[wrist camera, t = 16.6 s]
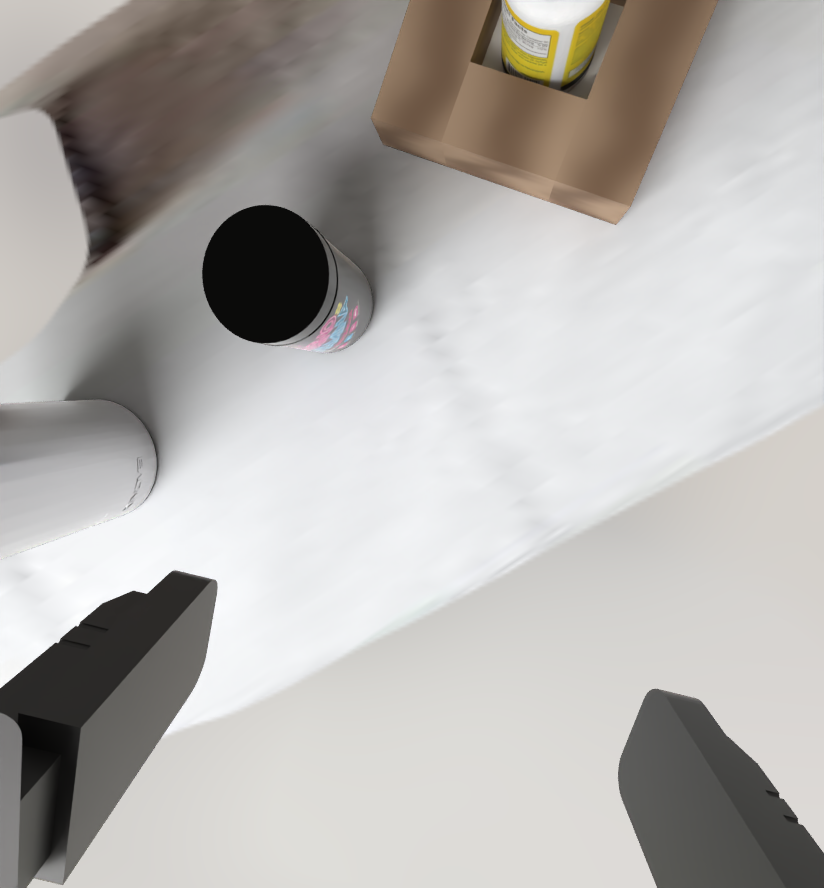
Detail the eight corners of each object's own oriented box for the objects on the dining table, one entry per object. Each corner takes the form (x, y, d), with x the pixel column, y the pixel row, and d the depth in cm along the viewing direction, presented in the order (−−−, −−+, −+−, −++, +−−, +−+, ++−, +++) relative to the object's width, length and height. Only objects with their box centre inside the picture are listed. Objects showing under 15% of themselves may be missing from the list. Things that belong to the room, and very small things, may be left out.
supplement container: (273, 340, 37) (189, 325, 27) (294, 244, 36) (216, 190, 26) (362, 365, 36) (312, 359, 26) (386, 267, 35) (344, 221, 25)
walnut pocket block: (382, 144, 34) (371, 117, 31) (473, -123, 32) (471, -185, 28) (615, 224, 33) (630, 206, 29) (731, -49, 30) (762, -105, 27)
